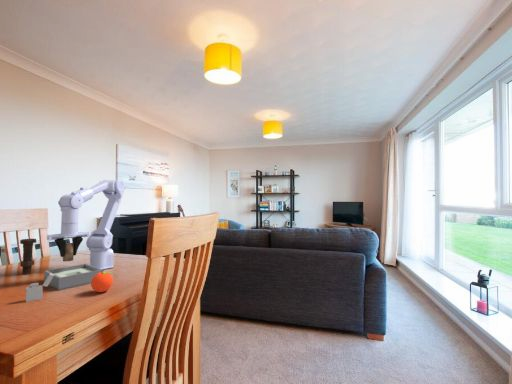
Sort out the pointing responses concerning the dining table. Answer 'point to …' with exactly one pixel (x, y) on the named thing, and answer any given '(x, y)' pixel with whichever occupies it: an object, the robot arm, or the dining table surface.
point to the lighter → (37, 289)
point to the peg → (69, 252)
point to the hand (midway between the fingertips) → (68, 255)
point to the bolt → (27, 255)
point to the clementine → (102, 282)
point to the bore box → (72, 276)
